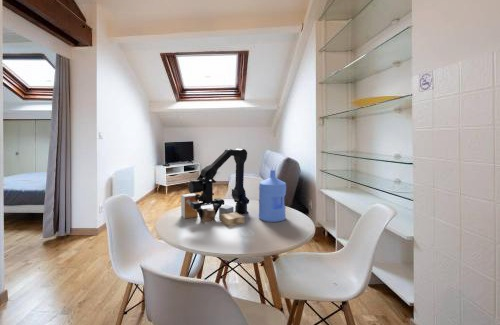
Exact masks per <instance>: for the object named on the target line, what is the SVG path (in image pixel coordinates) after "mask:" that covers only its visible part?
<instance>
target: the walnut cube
mask: <svg viewBox="0 0 500 325" xmlns="http://www.w3.org/2000/svg"><path fill="white" fill-rule="evenodd" d="M201 221H202V223H203V222H204V223H210V222H215V221H216V216H215V210H213V208H211V207H208V208H202V220H201Z"/></svg>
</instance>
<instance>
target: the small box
mask: <svg viewBox="0 0 500 325" xmlns="http://www.w3.org/2000/svg"><path fill="white" fill-rule="evenodd" d="M196 194H197V193H186V194H181V195H180V203H181V204H180V206H181V207H180V208H181V209H180V210H181V212H180V213H181V214H180V216H181V217H182V218H184V219H191V218H198V217H199V214H198V212H197V210H196V209H193V208H191V207H190V203H191V202H195V201H197V202H199V200H196V199H195V195H196Z"/></svg>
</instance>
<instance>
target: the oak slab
mask: <svg viewBox="0 0 500 325" xmlns="http://www.w3.org/2000/svg"><path fill="white" fill-rule="evenodd" d="M219 222H221V223H223V224H224V225H225V226H227V227H231V226H235V225H241V224H245V216H244V215H243V214H239V213H237V212H235V211H233V212H232V213H226V214H220V217H219Z"/></svg>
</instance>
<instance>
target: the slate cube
mask: <svg viewBox="0 0 500 325" xmlns="http://www.w3.org/2000/svg"><path fill="white" fill-rule="evenodd" d="M234 209H235V208H234V206H232V205H228V204H226V205H225V204H224V205H221V207H220V208H219V209H218V217H219V218H220V214H226V213H232V212H234Z"/></svg>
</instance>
